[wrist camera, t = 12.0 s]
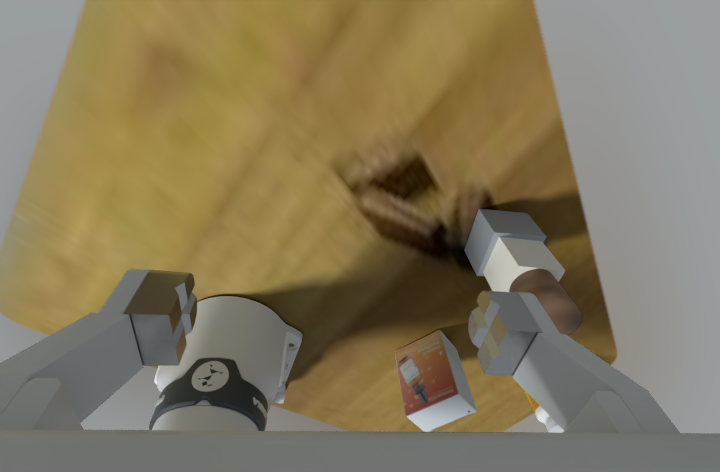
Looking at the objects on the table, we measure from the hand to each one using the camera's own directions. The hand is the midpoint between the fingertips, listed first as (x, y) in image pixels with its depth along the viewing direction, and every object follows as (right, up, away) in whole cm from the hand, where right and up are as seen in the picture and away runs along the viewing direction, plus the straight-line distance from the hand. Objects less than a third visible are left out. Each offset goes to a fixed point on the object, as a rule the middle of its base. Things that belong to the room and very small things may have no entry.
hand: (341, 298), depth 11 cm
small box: (+10, -15, +47) cm, 51 cm away
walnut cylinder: (+18, -3, +27) cm, 33 cm away
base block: (+17, +2, +35) cm, 39 cm away
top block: (+17, -1, +31) cm, 36 cm away
